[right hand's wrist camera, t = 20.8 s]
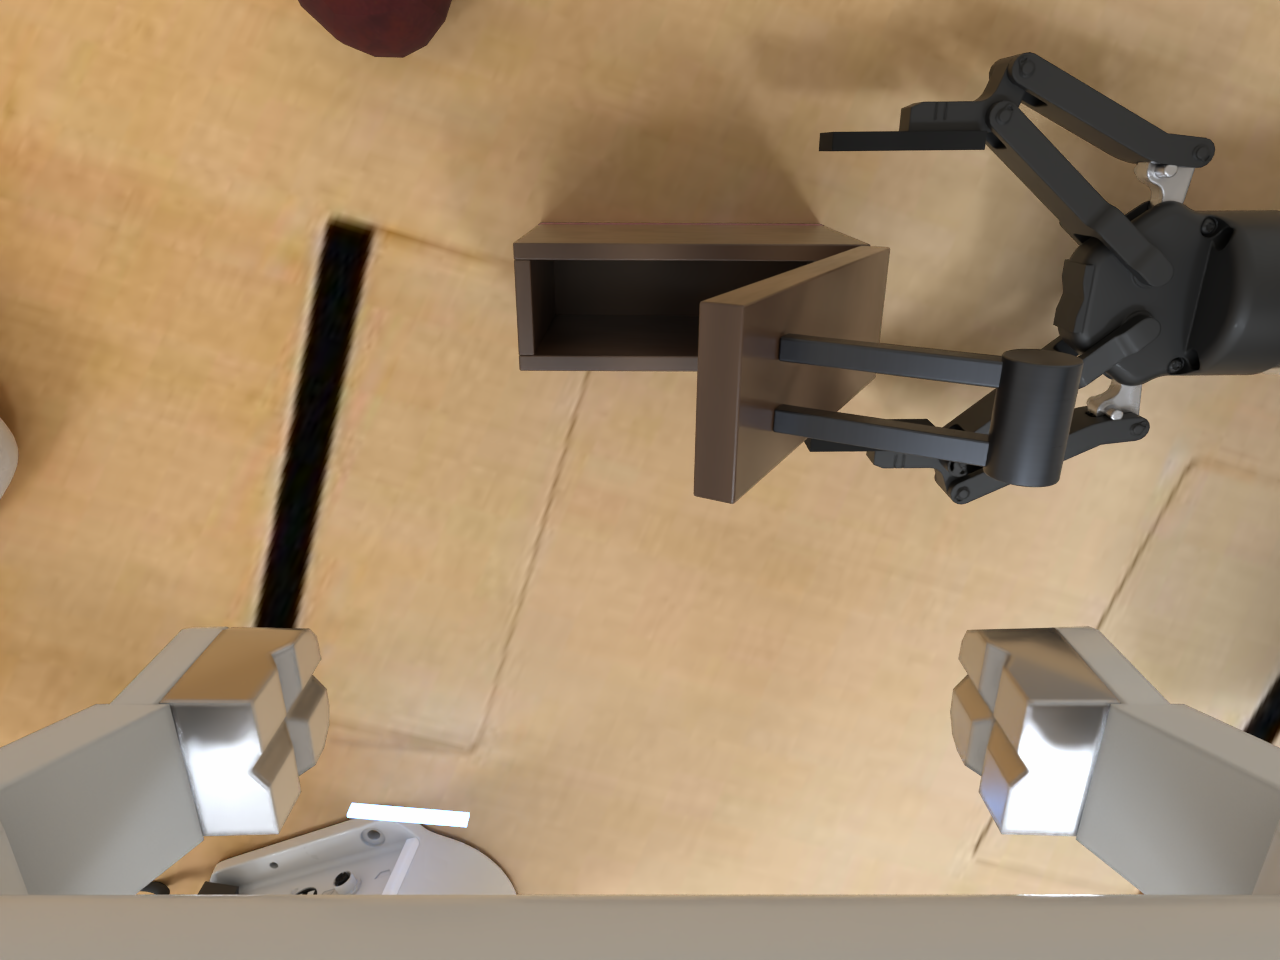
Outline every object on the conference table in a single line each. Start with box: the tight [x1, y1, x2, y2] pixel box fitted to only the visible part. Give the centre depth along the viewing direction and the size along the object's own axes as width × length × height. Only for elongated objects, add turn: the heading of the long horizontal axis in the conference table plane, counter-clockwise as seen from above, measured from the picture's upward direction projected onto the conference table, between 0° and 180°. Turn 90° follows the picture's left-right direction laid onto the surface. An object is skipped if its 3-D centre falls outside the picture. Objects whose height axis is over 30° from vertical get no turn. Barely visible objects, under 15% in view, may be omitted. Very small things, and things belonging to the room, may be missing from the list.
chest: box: [513, 223, 870, 371], centre depth 39 cm, size 15×5×10 cm, turn 90°
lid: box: [694, 246, 1084, 504], centre depth 26 cm, size 15×5×9 cm
